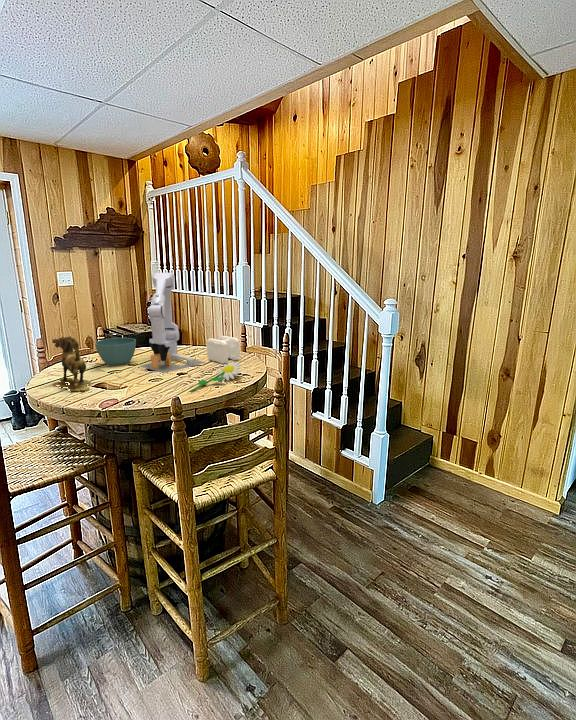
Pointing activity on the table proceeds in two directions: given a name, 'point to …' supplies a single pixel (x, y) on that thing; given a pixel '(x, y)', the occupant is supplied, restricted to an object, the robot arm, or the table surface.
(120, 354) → the plant pot
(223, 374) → the decorative flower
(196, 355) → the table surface
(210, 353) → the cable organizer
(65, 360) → the figurine
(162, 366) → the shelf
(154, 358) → the orange arch block
